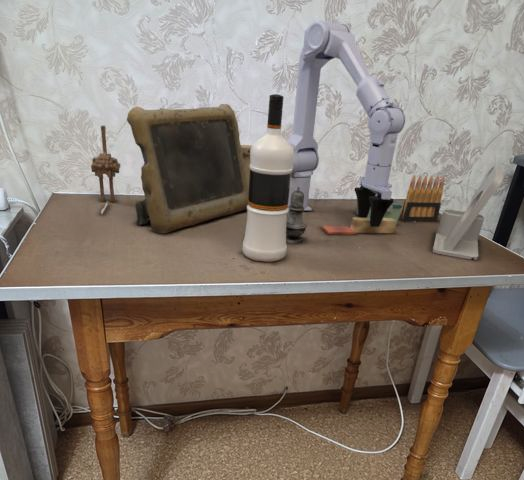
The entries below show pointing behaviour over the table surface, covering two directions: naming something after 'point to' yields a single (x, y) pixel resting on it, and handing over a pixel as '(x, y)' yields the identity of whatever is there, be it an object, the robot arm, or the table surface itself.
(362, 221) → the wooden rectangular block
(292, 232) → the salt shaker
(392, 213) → the tiffin box
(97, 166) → the ostrich figurine
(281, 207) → the vodka
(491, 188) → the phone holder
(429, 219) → the ammunition clip
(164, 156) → the tablet
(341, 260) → the table surface
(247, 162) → the handle
